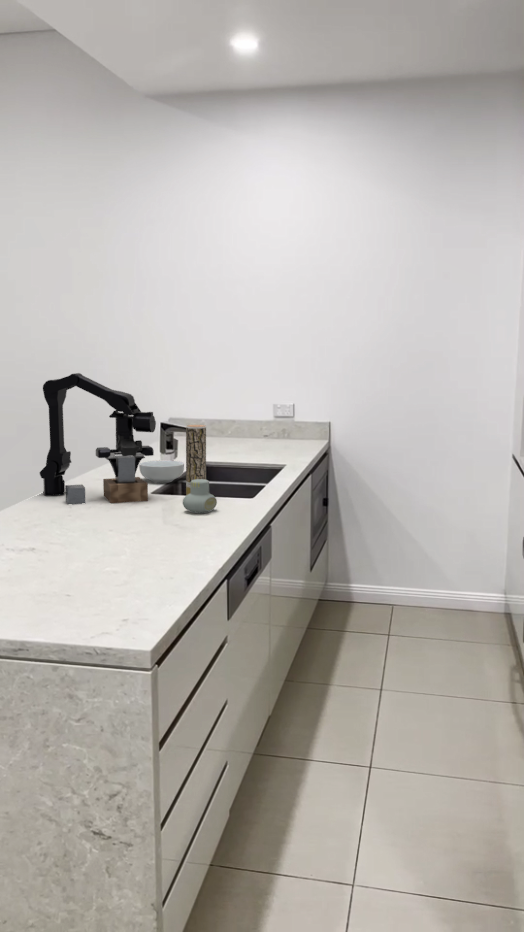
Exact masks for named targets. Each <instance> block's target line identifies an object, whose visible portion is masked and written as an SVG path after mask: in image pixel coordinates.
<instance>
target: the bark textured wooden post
mask: <svg viewBox="0 0 524 932" xmlns="http://www.w3.org/2000/svg"><path fill="white" fill-rule="evenodd" d="M185 470H186V471H185V484H186V485H185V487H186V488H185V490H186V491H185V494H186V495H188V494H190V489H191V481H192V480H195V479H205V480H207V425H205V424H186V426H185ZM186 495H185V496H186Z"/></svg>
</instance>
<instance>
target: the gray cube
mask: <svg viewBox="0 0 524 932" xmlns="http://www.w3.org/2000/svg"><path fill="white" fill-rule="evenodd" d="M64 493H65V503H66V504H67V503H68V504H72V505H82V503H85V504H86V487H85V486H84V485H83V484H82V483H81V484H68V485H66V484H65V492H64ZM68 504H67V505H68Z"/></svg>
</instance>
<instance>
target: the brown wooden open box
mask: <svg viewBox="0 0 524 932" xmlns="http://www.w3.org/2000/svg"><path fill="white" fill-rule="evenodd" d="M102 480H103V481H102V482H103V483H102V484H103V485H102V486H103V497H104V498H105V499H106V500H107V501H108V502H109V503H110V504H119V503H120V504H121V503H135V502H148V501H149V492H148V490H149V484H148V482H146V481H145V480H144V479H143V478H141V477H140V476H135V483H121V484H116V483H115V477H114V478H103V479H102Z"/></svg>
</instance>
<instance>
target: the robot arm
mask: <svg viewBox="0 0 524 932" xmlns="http://www.w3.org/2000/svg"><path fill="white" fill-rule="evenodd" d="M75 387H76V388H78V389H81V390H82V391H84V392H88V393H89V394H91V395H93V396H95V397H98V398H99V399H101V400H103V401H104V402H106V403H107V404H108V405H109V407H111V408H113V409H114V410H113V412H112V413H111V414H110V415H109V418H112V419H113V418H115V449H114V448H113V449H110V448H109V447H106V446H105V447H97V448H95V456H96V457H97V458H98V459H106V460H107V461H108V462H109V464H110V465H111V468H112V472H113V474H114V476H116V477H117V465H116V458H115V456H121V455H123V456H128V455H132V456H133V457H135V474H137V469H138V467H139V464H140V463H141V461H142V459H143V460H144V459H146V457H149V456H150V457H153V456H155V454H154V448H153V447H152V446H150V445H143V441H142V439H141V440H138V439H137V440H135V437H134V430H135V431H136V433H137V432H138V433H154V432H155V430H156V426H157V421H156V417H155V415H154V411H147V412H146V411H141V409H140V408H139V406H138V404H137V403H136V402H135V401H136V400H135V397H134V395H132V394H131V393H129V392H128V393H127V392H124V391H120V390H114V389H111V388H109V387H107V386H105V385H103V384H102V383H99V382H97V381H95V380H93V379H91V378H89V377H86V376H84V375H83V374H82V373H80V372H77V373H76V372H75V373H71V374H70V375H67V376H64V377H61V378H58V379H57V378H56V379H48V380H47V381H45V382H44V383H43V385H42V391H43V397H44V400H45V402H46V404H47V406H48V420H49V421H48V425H49V450H48V452H47V456H46V462H45V466H44V467H43V468H42V469H41V470H40V471H39V476H40V478H41V479H43V491H42V493H43V495H44V494H45V495H51V496H60V495H59V494H64V495H65V493H66V492H65V485H66V484H65V483H66V482H65V480H64V477H63V476H64V475H65V474H66V471H67V470H68V469H69V468H70V466H71V464H72V459H71V455H72V454H71V451H69V450H68V451H67V450H66V447H65V433H64V432H65V431H64V429H65V428H64V403H65V400H66V398H67V391H68V390H70V389H72V388H75ZM45 495H44V496H45Z"/></svg>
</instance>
